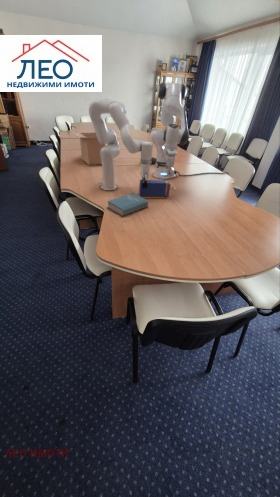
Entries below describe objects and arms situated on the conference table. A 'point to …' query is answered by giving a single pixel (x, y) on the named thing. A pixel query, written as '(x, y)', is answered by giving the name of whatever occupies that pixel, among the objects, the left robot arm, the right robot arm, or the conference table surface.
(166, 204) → the conference table surface
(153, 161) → the laser sight
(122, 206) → the book
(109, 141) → the left robot arm
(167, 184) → the drawer
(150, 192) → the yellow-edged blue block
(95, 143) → the box
